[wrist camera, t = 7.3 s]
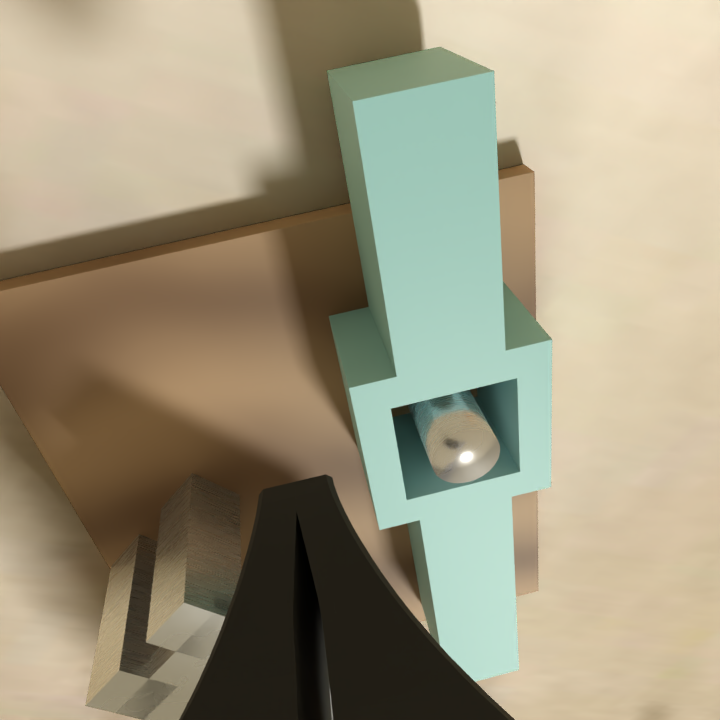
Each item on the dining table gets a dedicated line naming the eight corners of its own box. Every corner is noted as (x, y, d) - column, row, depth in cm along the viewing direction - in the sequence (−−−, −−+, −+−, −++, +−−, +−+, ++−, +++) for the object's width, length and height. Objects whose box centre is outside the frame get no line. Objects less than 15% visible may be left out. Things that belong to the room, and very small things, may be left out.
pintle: (448, 372, 23) (501, 473, 19) (394, 385, 23) (435, 490, 19) (443, 325, 22) (498, 421, 18) (387, 339, 22) (428, 438, 17)
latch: (512, 580, 29) (549, 661, 26) (393, 611, 29) (415, 697, 26) (488, 36, 17) (554, 58, 13) (276, 80, 16) (289, 114, 13)
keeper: (192, 473, 23) (183, 602, 18) (361, 550, 26) (389, 673, 22) (111, 566, 24) (85, 705, 20) (280, 626, 28) (291, 755, 24)
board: (531, 576, 31) (538, 590, 30) (180, 668, 30) (179, 684, 29) (523, 164, 19) (534, 171, 19) (-40, 289, 18) (-50, 302, 18)
